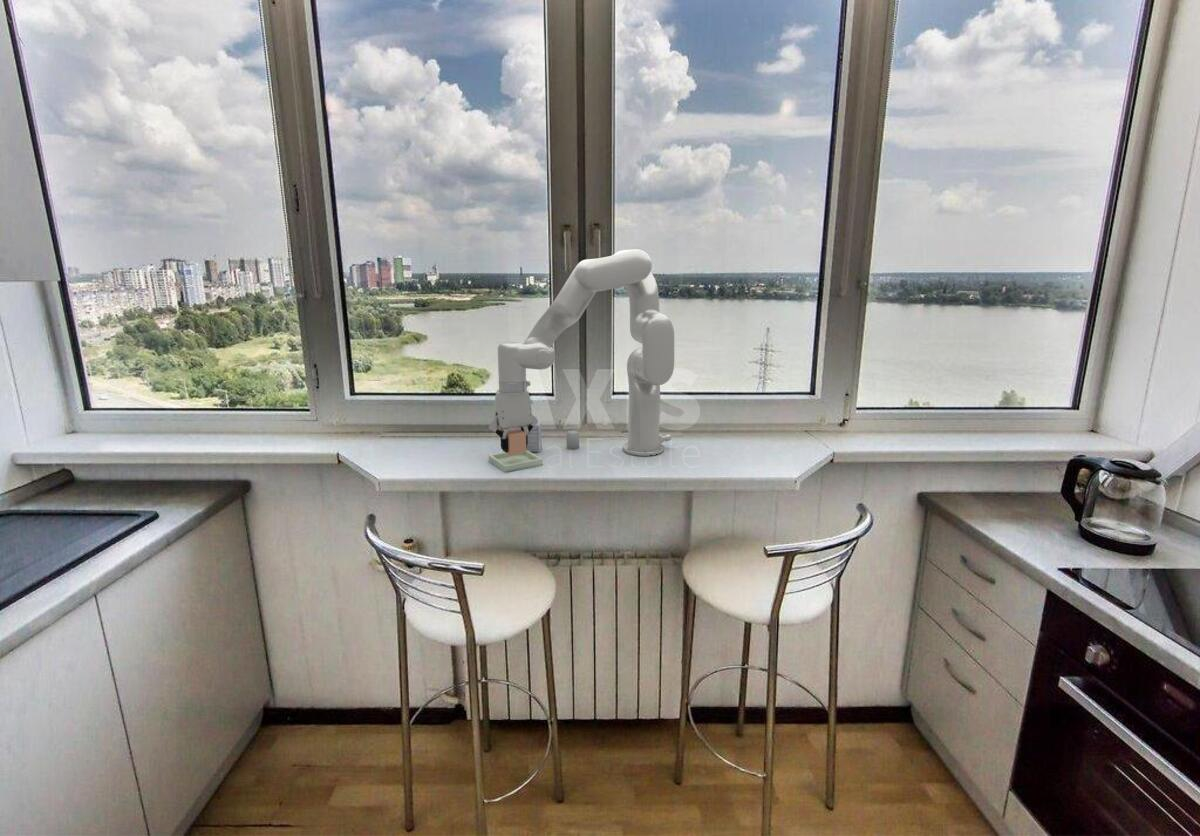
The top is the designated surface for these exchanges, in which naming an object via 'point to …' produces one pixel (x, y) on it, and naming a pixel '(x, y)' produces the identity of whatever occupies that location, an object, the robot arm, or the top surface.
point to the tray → (515, 461)
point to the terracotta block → (516, 442)
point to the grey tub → (572, 439)
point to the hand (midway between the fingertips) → (514, 448)
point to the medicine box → (534, 438)
